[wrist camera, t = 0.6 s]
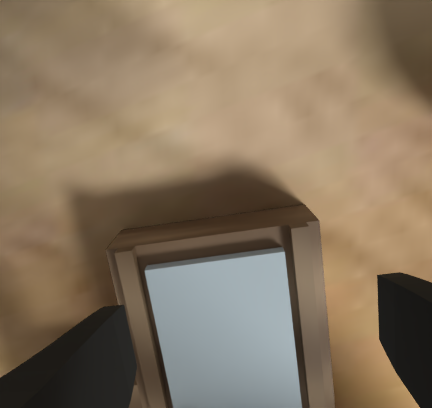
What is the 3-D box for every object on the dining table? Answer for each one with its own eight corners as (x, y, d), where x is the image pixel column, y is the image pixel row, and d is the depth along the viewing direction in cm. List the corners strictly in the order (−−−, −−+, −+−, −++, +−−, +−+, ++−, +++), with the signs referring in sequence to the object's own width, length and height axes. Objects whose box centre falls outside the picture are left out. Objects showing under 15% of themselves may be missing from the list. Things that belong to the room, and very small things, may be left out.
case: (324, 419, 23) (343, 473, 20) (75, 447, 24) (51, 505, 20) (304, 204, 20) (322, 224, 16) (15, 244, 21) (-26, 272, 17)
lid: (305, 453, 20) (324, 530, 16) (188, 466, 20) (182, 545, 17) (282, 246, 17) (299, 283, 14) (146, 265, 18) (127, 306, 14)
